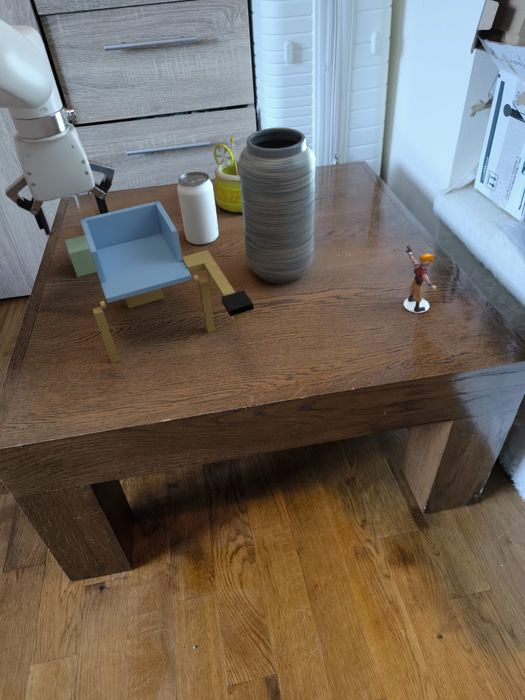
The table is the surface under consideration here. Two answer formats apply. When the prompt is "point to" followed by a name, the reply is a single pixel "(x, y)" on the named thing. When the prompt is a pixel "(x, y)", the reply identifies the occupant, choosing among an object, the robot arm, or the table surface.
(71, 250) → the block
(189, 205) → the can
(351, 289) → the table surface
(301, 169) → the vase
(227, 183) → the yellow lemon pot
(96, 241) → the light blue walled tray
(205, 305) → the tan bar frame
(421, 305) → the action figure
